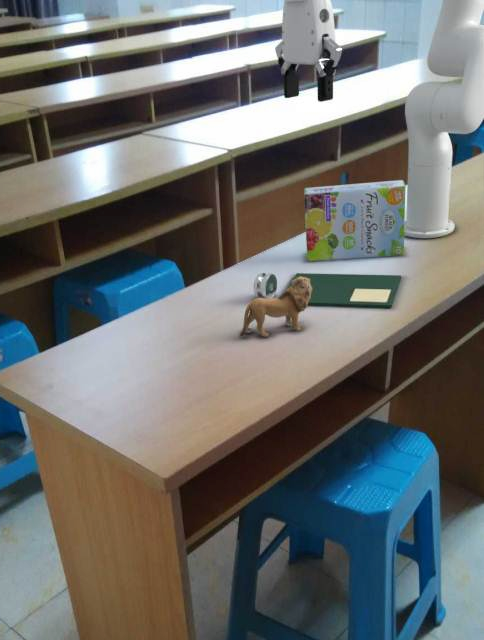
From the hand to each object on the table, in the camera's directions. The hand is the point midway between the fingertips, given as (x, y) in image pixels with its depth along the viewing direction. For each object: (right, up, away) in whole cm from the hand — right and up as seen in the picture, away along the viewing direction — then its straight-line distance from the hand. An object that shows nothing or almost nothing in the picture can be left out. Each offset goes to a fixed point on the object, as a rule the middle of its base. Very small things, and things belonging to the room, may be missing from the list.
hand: (308, 98), depth 133 cm
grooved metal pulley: (-7, -35, +12) cm, 38 cm away
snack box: (+13, -22, +27) cm, 37 cm away
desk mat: (+8, -33, +11) cm, 36 cm away
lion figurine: (-6, -43, -1) cm, 44 cm away
